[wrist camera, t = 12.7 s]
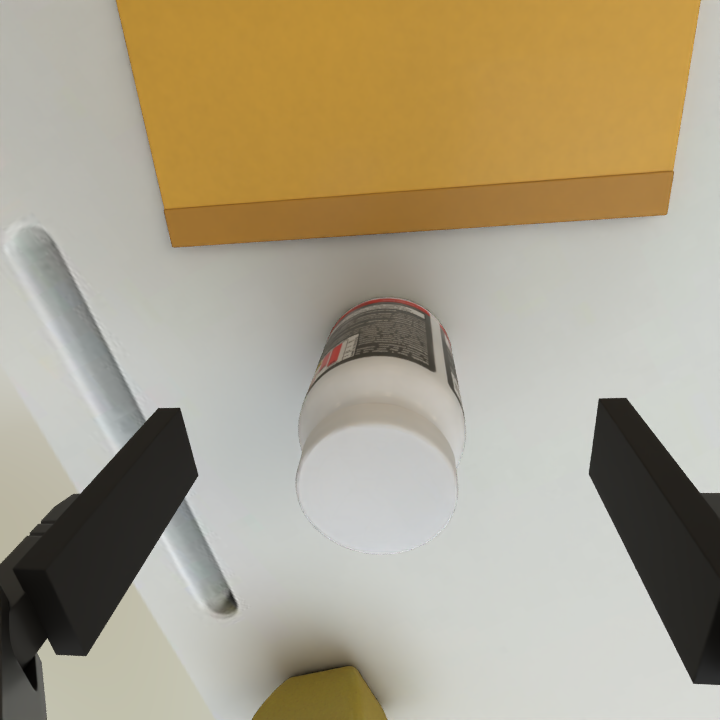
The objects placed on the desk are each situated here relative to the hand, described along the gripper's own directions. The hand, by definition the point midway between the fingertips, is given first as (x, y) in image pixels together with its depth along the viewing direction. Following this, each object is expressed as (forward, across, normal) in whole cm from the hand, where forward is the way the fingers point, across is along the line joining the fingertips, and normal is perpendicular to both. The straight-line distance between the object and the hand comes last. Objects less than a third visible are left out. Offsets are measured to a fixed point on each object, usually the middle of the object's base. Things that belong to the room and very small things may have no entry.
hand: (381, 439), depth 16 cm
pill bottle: (+8, 0, 0) cm, 8 cm away
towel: (+8, +1, +13) cm, 15 cm away
